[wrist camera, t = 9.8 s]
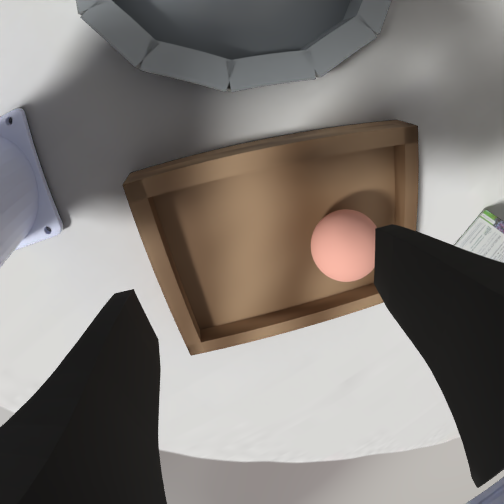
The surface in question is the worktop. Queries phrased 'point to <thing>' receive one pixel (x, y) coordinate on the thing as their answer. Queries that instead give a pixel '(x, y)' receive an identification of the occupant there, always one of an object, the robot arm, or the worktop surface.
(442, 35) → the worktop surface
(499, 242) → the syrup box
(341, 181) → the tray
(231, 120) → the worktop surface
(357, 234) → the ball
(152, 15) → the bowl
